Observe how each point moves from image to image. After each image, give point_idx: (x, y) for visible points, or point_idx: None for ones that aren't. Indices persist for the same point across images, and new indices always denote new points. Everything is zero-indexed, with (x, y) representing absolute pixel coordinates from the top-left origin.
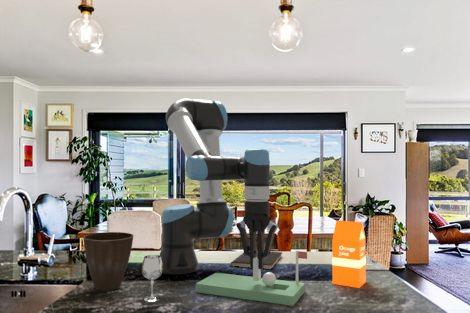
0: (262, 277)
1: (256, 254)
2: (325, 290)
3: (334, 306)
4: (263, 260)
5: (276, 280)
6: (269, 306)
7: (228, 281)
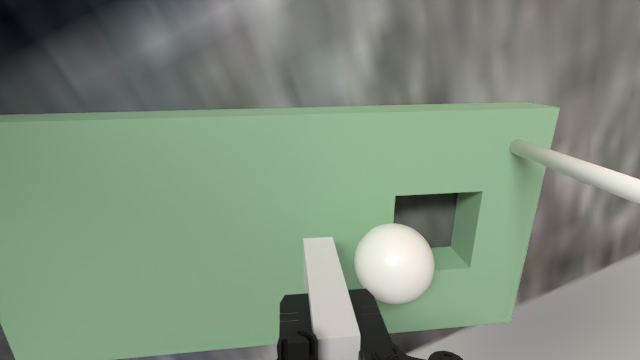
0: (360, 282)
1: (316, 349)
2: (627, 35)
3: (632, 238)
4: (387, 336)
5: (394, 129)
6: (409, 336)
7: (146, 267)
